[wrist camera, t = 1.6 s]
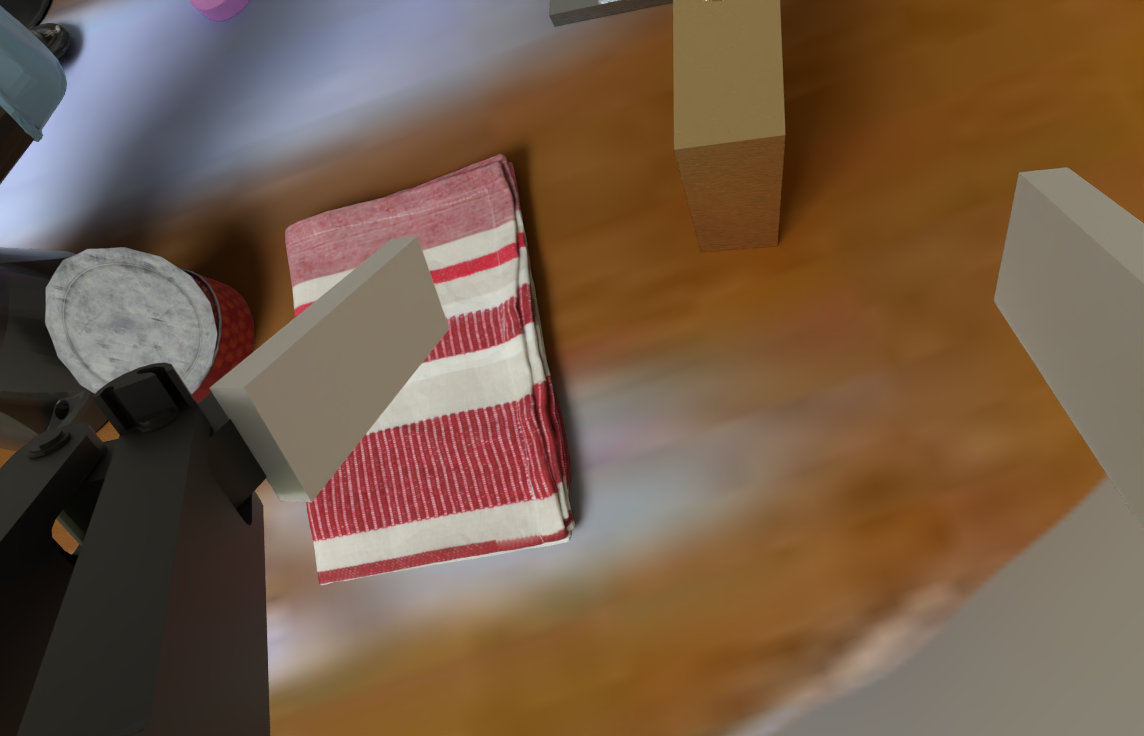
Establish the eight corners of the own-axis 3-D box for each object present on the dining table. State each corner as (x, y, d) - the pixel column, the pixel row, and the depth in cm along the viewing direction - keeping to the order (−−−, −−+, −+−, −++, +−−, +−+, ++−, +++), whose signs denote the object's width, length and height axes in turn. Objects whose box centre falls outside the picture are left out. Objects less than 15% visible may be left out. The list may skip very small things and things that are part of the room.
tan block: (700, 252, 33) (673, 149, 23) (698, 88, 35) (672, -76, 25) (777, 245, 32) (785, 134, 22) (771, 76, 34) (775, -101, 24)
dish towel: (520, 161, 38) (503, 139, 36) (587, 538, 33) (573, 543, 30) (300, 237, 43) (271, 222, 40) (327, 583, 37) (296, 591, 35)
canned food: (280, 300, 48) (236, 232, 38) (269, 425, 44) (219, 384, 35) (118, 299, 45) (30, 227, 36) (95, 430, 42) (-8, 388, 33)
